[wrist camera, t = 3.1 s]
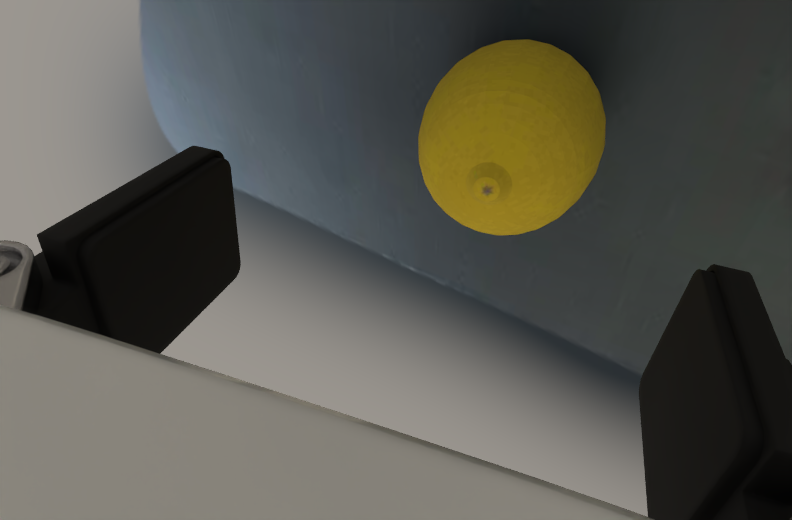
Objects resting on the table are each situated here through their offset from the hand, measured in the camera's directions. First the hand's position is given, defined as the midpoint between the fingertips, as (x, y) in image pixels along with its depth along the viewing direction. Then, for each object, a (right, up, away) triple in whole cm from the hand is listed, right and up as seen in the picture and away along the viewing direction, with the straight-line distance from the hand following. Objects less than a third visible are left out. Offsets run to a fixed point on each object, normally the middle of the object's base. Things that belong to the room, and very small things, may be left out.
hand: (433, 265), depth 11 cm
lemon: (+4, +6, +9) cm, 12 cm away
